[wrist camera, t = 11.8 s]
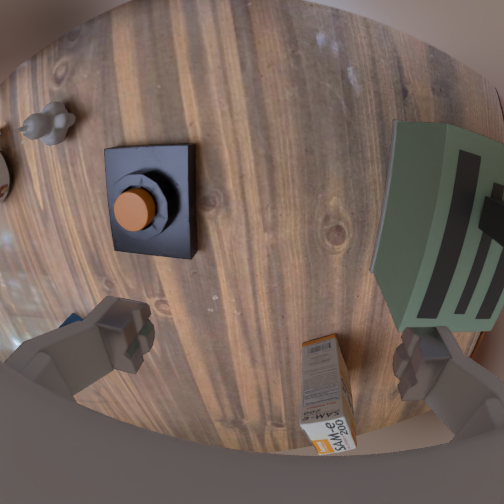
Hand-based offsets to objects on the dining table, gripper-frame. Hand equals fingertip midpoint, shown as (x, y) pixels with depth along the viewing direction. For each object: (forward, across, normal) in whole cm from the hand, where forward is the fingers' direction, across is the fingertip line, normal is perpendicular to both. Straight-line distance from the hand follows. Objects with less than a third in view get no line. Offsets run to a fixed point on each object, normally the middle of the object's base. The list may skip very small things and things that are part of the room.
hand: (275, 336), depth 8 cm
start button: (+18, +15, +2) cm, 23 cm away
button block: (+22, +15, +2) cm, 26 cm away
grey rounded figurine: (+22, +28, -9) cm, 36 cm away
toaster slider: (+10, -15, -3) cm, 19 cm away
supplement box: (+22, -7, +22) cm, 32 cm away
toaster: (+22, -15, 0) cm, 27 cm away
